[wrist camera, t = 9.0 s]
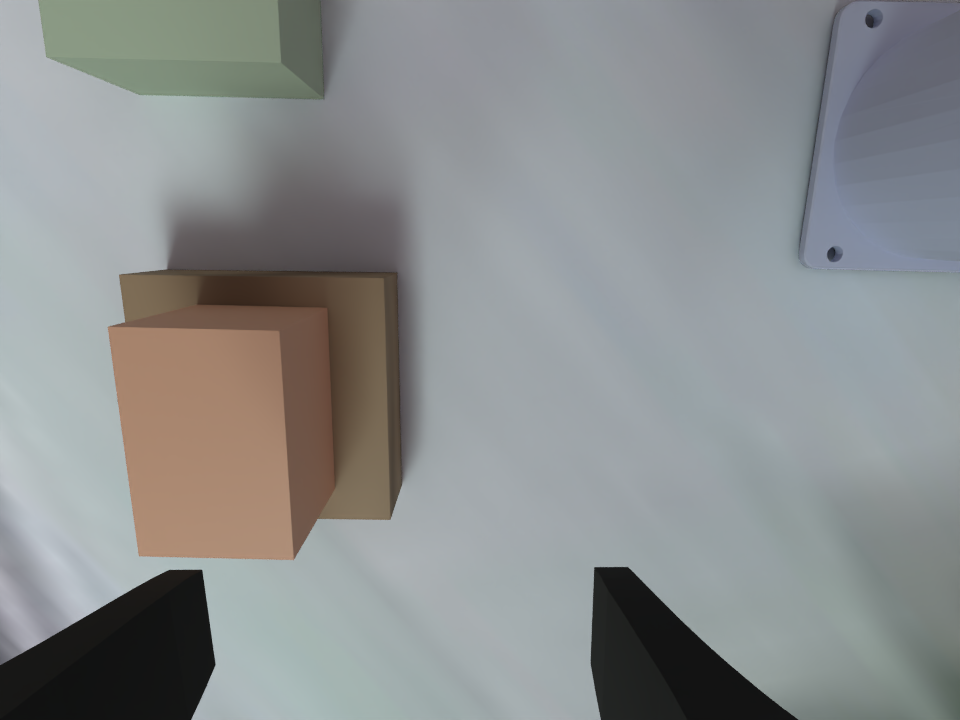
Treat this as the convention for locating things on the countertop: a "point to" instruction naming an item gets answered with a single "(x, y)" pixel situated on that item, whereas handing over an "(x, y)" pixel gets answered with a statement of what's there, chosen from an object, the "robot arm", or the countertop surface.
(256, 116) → the countertop surface
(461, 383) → the countertop surface
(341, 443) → the walnut slab
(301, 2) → the sage brick
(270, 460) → the terracotta brick
